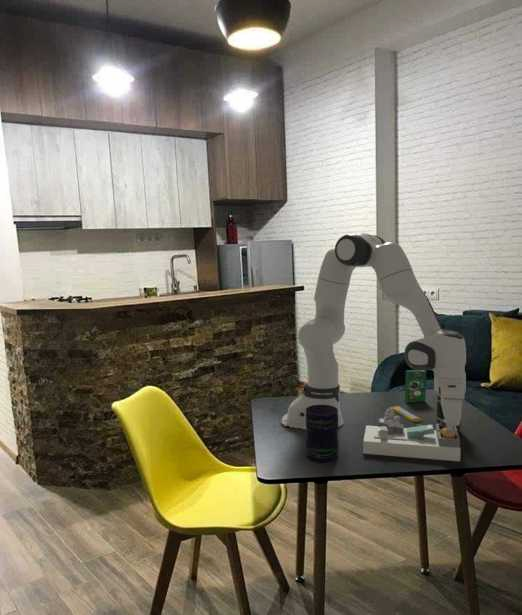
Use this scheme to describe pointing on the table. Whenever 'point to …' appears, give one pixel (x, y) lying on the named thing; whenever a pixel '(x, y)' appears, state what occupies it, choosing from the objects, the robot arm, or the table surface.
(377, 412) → the table surface
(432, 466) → the table surface
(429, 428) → the rocker teal
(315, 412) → the storage jar
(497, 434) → the table surface
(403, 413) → the candy bar
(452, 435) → the button orange
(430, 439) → the console
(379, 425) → the rocker charcoal
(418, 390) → the coffee box
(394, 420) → the grey rounded piece
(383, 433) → the slide knob
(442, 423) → the button black
